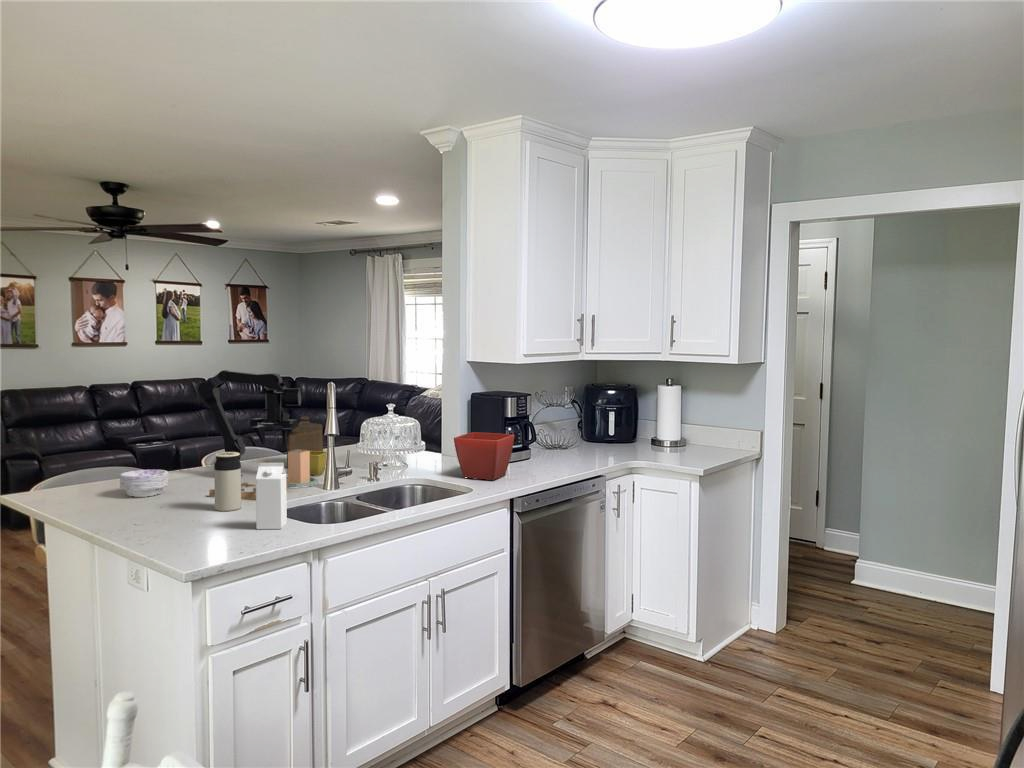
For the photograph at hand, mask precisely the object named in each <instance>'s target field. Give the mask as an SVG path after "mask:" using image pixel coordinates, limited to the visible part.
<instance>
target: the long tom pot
mask: <svg viewBox="0 0 1024 768" xmlns="http://www.w3.org/2000/svg"><path fill="white" fill-rule="evenodd" d="M287 477H289V483H307V482H310V477H311V475H310V451H308V450H299V449H297V450H292V451H290V452H288V468H287Z"/></svg>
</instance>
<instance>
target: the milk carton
mask: <svg viewBox="0 0 1024 768" xmlns="http://www.w3.org/2000/svg"><path fill="white" fill-rule="evenodd" d="M284 466H285V463H284V462H258V467H257V468H258V469H257V472H256V477H255V485H256V487H255V488H256V500H255V509H256V510H255V512H256V514H255V515H256V516H255V518H256V521H255V523H256V524H255V525H256V528H255V529H256V530H281V529H283V528H284V527H285V525H286V524H287V523H288V522H287V519H288V517H287V509H288V508H287V501H288V500H287V489H286V477H287V472H286V469H285V467H284Z"/></svg>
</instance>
